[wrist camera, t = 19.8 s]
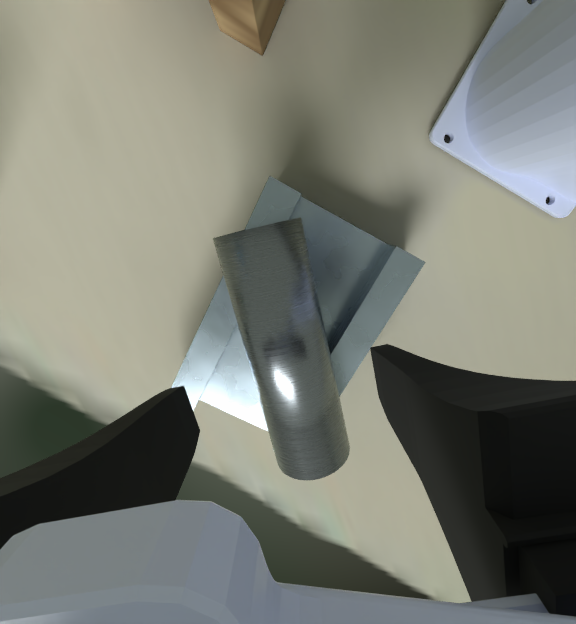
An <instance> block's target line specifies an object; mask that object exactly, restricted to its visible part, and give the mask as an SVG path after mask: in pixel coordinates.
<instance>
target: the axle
mask: <svg viewBox="0 0 576 624" xmlns="http://www.w3.org/2000/svg"><path fill="white" fill-rule="evenodd" d="M213 240H214V244H215V247H216V251H217V254H218V258H219V261H220V265H221V268H222V272H223V275H224V279H225V282H226V286H227V289H228V292H229V296H230V299H231V303H232V306H233V310H234V313H235V317H236V320H237V324H238V327H239V331H240V334H241V338H242V341H243V345H244V348H245V352H246V355H247V358H248V362H249V365H250V369H251V372H252V376H253V379H254V383H255V386H256V390H257V393H258V397H259V400H260V404H261V407H262V411H263V414H264V417H265V421H266V424H267V428H268V431H269V435H270V438H271V442H272V445H273V449H274V452H275V456H276V459H277V463H278V465H279V468H280V469H281V470H282V472H283V473H285V474H286V475H288V476H289V477H292V478H294V479H298V480H315V479H320V478H323V477H326V476H328V475H330V474H332V473H334V472H335V471H337V470H338V469H339V468H340V467H341V466H342V465H343V464H344V463H345V461H346V460H347V458H348V455H349V451H350V446H349V441H348V436H347V431H346V427H345V422H344V417H343V413H342V408H341V403H340V398H339V394H338V389H337V384H336V379H335V375H334V370H333V365H332V361H331V356H330V351H329V346H328V342H327V337H326V332H325V327H324V323H323V318H322V313H321V309H320V304H319V299H318V294H317V290H316V285H315V280H314V275H313V271H312V266H311V261H310V257H309V252H308V247H307V242H306V238H305V233H304V228H303V223H302V219H301V218H295V219H290V220H286V221H281V222H277V223H273V224H268V225H264V226H260V227H256V228H252V229H247V230H243V231H239V232H235V233H231V234H228V235H224V236H220V237H216V238H213Z"/></svg>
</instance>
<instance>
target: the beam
mask: <svg viewBox="0 0 576 624" xmlns="http://www.w3.org/2000/svg"><path fill="white" fill-rule="evenodd" d="M285 1H286V0H209V2H210V5H211V7H212V10H213V13H214V15H215V18H216V20H217V23H218V26H219V28H220V31H222V32H224V33H225V34H227V35H229V36H230V37H232V38H234V39H235V40H237V41H239V42H240V43H242V44H244V45H245V46H247V47H249V48H250V49H252V50H254V51H255V52H257V53H259V54H260V55H262V56H263V53H264V51H265V49H266V46H267V44H268V41H269V39H270V37H271V34H272V32H273V29H274V27H275V25H276V22H277V20H278V17H279V15H280V13H281V10H282V8H283V6H284V3H285Z"/></svg>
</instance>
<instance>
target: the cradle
mask: <svg viewBox="0 0 576 624" xmlns="http://www.w3.org/2000/svg"><path fill="white" fill-rule="evenodd" d="M301 194H302V193H300V192H298V191H296V190H294V189H293V188H291V187H289V186H287V185H285V184H284V183H282V182H280V181H278V180H276V179H275V178H273V177H271V176H269V179H268V181H267V183H266V185H265V187H264V189H263V191H262V194H261V196H260V198H259V200H258V202H257V204H256V207H255V209H254V211H253V213H252V215H251V217H250V219H249V222H248V224H247V226H246V228H245V230H247V229H252V228H256V227H260V226H264V225H268V224H273V223H277V222H281V221H286V220H290V219H295V218H301V219H302V223H303V228H304V233H305V238H306V242H307V247H308V252H309V257H310V261H311V266H312V271H313V275H314V280H315V285H316V290H317V294H318V299H319V304H320V309H321V313H322V318H323V323H324V327H325V332H326V337H327V342H328V346H329V351H330V356H331V361H332V365H333V370H334V375H335V379H336V384H337V389H338V394H339V396H340V395H341V393H342V392H343V390H344V389H345V387H346V386H347V384H348V382H349V381H350V379H351V378H352V376H353V375H354V373H355V371H356V370H357V368H358V367H359V365H360V364H361V362H362V361H363V359H364V357H365V356H366V354H367V353H368V351H369V350H370V348H371V346H372V345H373V343H374V342H375V340H376V339H377V337H378V336H379V334H380V332H381V331H382V329H383V328H384V326H385V325H386V323H387V321H388V320H389V318H390V317H391V315H392V314H393V312H394V311H395V309H396V307H397V306H398V304H399V303H400V301H401V300H402V298H403V296H404V295H405V293H406V292H407V290H408V289H409V287H410V286H411V284H412V282H413V281H414V279H415V278H416V276H417V275H418V273H419V271H420V270H421V268H422V267H423V265H424V264H425V262H424V261H422V260H421V259H419V258H417V257H415V256H413V255H412V254H410V253H408V252H406V251H404V250H403V249H401V248H399V247H397V246H393V245H388V244H386V243H384V242H383V241H381V240H379V239H377V238H375V237H374V236H372V235H370V234H368V233H366V232H365V231H363V230H361V229H359V228H357V227H356V226H354V225H352V224H350V223H348V222H347V221H345V220H343V219H341V218H339V217H338V216H336V215H334V214H332V213H330V212H329V211H327V210H325V209H323V208H321V207H319V206H318V205H316V204H314V203H312V202H310V201H309V200H307V199H305V198H303V197H301ZM180 386H184V387H185V390H186V392H187V395H188V398H189V401H190V404H191V407H192V409H193V410H194V409H195V407H196V405H197V403H198V401H199V400H201V401H204V402H206V403H208V404H210V405H212V406H214V407H217V408H219V409H221V410H223V411H225V412H228V413H230V414H232V415H234V416H236V417H238V418H241V419H243V420H245V421H247V422H249V423H251V424H254V425H256V426H258V427H260V428H262V429H265V430H267V431H268V428H267V424H266V421H265V417H264V414H263V411H262V407H261V404H260V400H259V397H258V393H257V390H256V386H255V383H254V379H253V376H252V372H251V369H250V365H249V362H248V358H247V355H246V352H245V348H244V345H243V341H242V338H241V334H240V331H239V327H238V324H237V320H236V317H235V313H234V310H233V306H232V303H231V299H230V296H229V292H228V289H227V286H226V282H225V279H224V275H223V277H222V280H221V282H220V284H219V286H218V288H217V290H216V293H215V295H214V297H213V299H212V301H211V303H210V305H209V308H208V310H207V312H206V314H205V316H204V318H203V320H202V323H201V325H200V327H199V329H198V331H197V333H196V335H195V338H194V340H193V342H192V344H191V346H190V348H189V351H188V353H187V355H186V357H185V359H184V361H183V363H182V366H181V368H180V370H179V372H178V374H177V376H176V378H175V381H174V383H173V385H172V387H171V388H175V387H180ZM273 450H274V449H273Z"/></svg>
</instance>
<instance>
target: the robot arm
mask: <svg viewBox="0 0 576 624" xmlns="http://www.w3.org/2000/svg"><path fill="white" fill-rule="evenodd" d="M445 135H448V136H449V137H450V142H449V143H445V141H444V136H445ZM429 139H430V141H431V143H433V144H434V145H435V146H437V147H439V148H440V149H442V150H444V151H445V152H447V153H449V154H450V155H452V156H454V157H455V158H457V159H459V160H460V161H462V162H464V163H465V164H467V165H469V166H470V167H472V168H474V169H475V170H477V171H479V172H480V173H482V174H483V175H485V176H487V177H488V178H490V179H492V180H493V181H495V182H497V183H498V184H500V185H502V186H503V187H505V188H507V189H508V190H510V191H512V192H513V193H515V194H517V195H518V196H520V197H522V198H523V199H525V200H527V201H528V202H530V203H531V204H533V205H535V206H536V207H538V208H540V209H541V210H543V211H545V212H546V213H548V214H550V215H551V216H553V217H556V218H562V217H566V216H568V215H569V214H570V213H571V211H572V210H573V209H574V207H575V206H576V0H532V4H529V3H528V2H527V0H506V1H505V3H504V5H503V6H502V8H501V10H500V11H499V13H498V15H497V17H496V18H495V20H494V22H493V24H492V25H491V27H490V29H489V31H488V32H487V34H486V36H485V37H484V39H483V41H482V43H481V44H480V46H479V48H478V50H477V51H476V53H475V55H474V57H473V58H472V60H471V62H470V63H469V65H468V67H467V69H466V70H465V72H464V74H463V76H462V77H461V79H460V81H459V83H458V84H457V86H456V88H455V89H454V91H453V93H452V95H451V96H450V98H449V100H448V102H447V103H446V105H445V107H444V109H443V110H442V112H441V114H440V115H439V117H438V119H437V121H436V122H435V124H434V126H433V128H432V129H431V131H430V134H429ZM547 197H549V198H550V201H549V203H548V204H546V198H547ZM370 349H371V355H372V361H373V367H374V372H375V378H376V384H377V390H378V395H379V399H380V401H381V404H382V406H383V409H384V412H385V414H386V416H387V419H388V421H389V423H390V424H391V426H392V428H393V430H394V432H395V434H396V435H397V437H398V439H399V441H400V442H401V444H402V446H403V448H404V450H405V451H406V453H407V455H408V457H409V459H410V460H411V462H412V464H413V466H414V467H415V469H416V471H417V473H418V475H419V477H420V479H421V481H422V483H423V485H424V488H425V490H426V492H427V495H428V497H429V499H430V501H431V504H432V506H433V508H434V511H435V513H436V515H437V518H438V520H439V523H440V525H441V527H442V530H443V532H444V534H445V537H446V539H447V542H448V544H449V546H450V549H451V551H452V554H453V556H454V559H455V561H456V564H457V566H458V569H459V571H460V574H461V576H462V578H463V581H464V583H465V586H466V588H467V591H468V593H469V596H470V598H471V601H472V602H466V603H452V602H443V601H434V600H425V599H417V598H408V597H399V596H390V595H381V594H373V593H364V592H355V591H347V590H338V589H329V588H321V587H312V586H303V585H294V584H285V583H278V582H276V581H275V580H273V578H272V576H271V574H270V572H269V570H268V568H267V565H266V562H265V558H264V555H263V552H262V549H261V546H260V544H259V542H258V540H257V538H256V537H255V535H254V534H253V533H252V531H251V530H250V529H249V527H248V526H247V524H246V523H245V522H244V520H243V519H242V517H240V516H239V515H237V514H235V513H233V512H231V511H229V510H227V509H225V508H223V507H221V506H219V505H217V504H215V503H213V502H211V501H190V500H176V497H177V495H178V493H179V490H180V488H181V485H182V483H183V481H184V478H185V475H186V473H187V471H188V469H189V466H190V464H191V461H192V459H193V456H194V453H195V449H196V446H197V442H198V437H199V433H200V429H199V426H198V423H197V421H196V418H195V415H194V412H193V409H192V407H191V404H190V401H189V398H188V395H187V392H186V390H185V387H184V386H180V387H175V388H170V389H167V390H165V391H163V392H161V393H159V394H157V395H155V396H154V397H152V398H150V399H149V400H147V401H146V402H144V403H143V404H141V405H139V406H138V407H136V408H135V409H133V410H132V411H130V412H128V413H127V414H125V415H124V416H122V417H121V418H119V419H117V420H116V421H114V422H112V423H111V424H109V425H107V426H106V427H104V428H103V429H101V430H99V431H98V432H96V433H94V434H93V435H91V436H89V437H87V438H85V439H84V440H82V441H80V442H78V443H76V444H74V445H72V446H70V447H68V448H67V449H65V450H63V451H61V452H59V453H57V454H54V455H52V456H50V457H48V458H46V459H43V460H41V461H39V462H37V463H35V464H33V465H31V466H28V467H26V468H24V469H21V470H19V471H17V472H14V473H12V474H9V475H7V476H5V477H2V478H0V624H576V381H551V380H533V379H521V378H510V377H503V376H495V375H488V374H482V373H476V372H472V371H467V370H463V369H458V368H454V367H450V366H447V365H443V364H440V363H437V362H434V361H431V360H428V359H425V358H422V357H420V356H417V355H414V354H412V353H409V352H407V351H404V350H402V349H399V348H397V347H394V346H391V345H388V344H386V345H381V346H376V347H371V348H370Z"/></svg>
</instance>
